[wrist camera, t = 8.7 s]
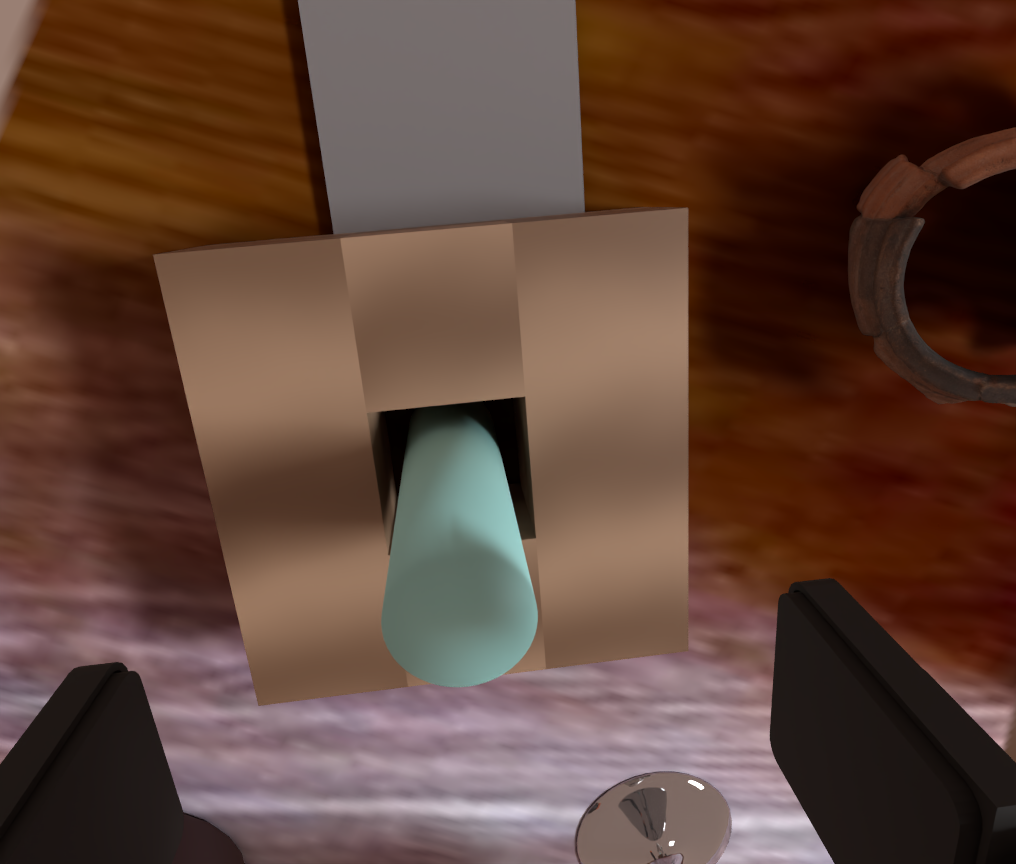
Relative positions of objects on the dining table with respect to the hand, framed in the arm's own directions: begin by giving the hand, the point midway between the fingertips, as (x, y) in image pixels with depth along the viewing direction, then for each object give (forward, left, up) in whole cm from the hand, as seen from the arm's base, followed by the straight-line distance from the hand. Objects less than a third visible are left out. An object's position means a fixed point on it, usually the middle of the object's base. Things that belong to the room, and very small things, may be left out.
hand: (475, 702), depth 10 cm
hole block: (+1, 0, -15) cm, 15 cm away
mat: (-10, +1, -15) cm, 18 cm away
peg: (+1, 0, -15) cm, 15 cm away
